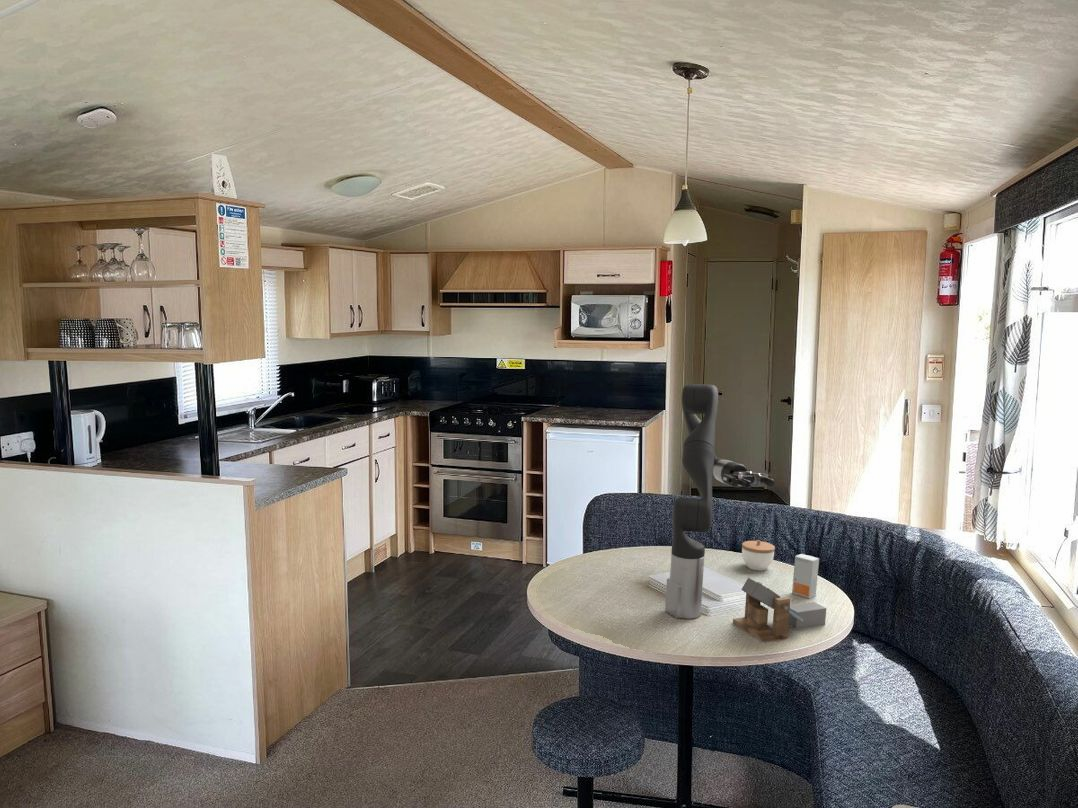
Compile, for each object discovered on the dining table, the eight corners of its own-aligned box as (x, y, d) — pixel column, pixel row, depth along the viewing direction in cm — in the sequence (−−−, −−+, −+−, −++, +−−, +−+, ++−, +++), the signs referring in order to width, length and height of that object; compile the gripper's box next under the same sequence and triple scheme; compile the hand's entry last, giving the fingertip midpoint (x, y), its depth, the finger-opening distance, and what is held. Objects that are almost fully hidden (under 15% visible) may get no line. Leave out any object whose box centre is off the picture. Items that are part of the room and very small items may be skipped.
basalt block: (797, 612, 223) (826, 608, 227) (785, 605, 227) (814, 601, 231) (795, 629, 223) (824, 625, 227) (784, 622, 228) (812, 618, 232)
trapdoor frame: (790, 640, 216) (793, 600, 214) (766, 643, 213) (769, 603, 211) (753, 618, 230) (756, 580, 229) (730, 621, 227) (732, 583, 226)
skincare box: (791, 593, 251) (794, 555, 250) (798, 590, 254) (801, 553, 253) (809, 599, 247) (813, 560, 245) (816, 595, 250) (819, 558, 248)
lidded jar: (774, 574, 269) (776, 546, 268) (741, 570, 271) (743, 543, 270) (772, 564, 279) (774, 537, 278) (739, 561, 281) (741, 534, 280)
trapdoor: (799, 627, 220) (807, 614, 220) (763, 601, 214) (770, 589, 214) (775, 613, 229) (782, 601, 230) (739, 588, 223) (746, 576, 224)
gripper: (712, 462, 258) (743, 473, 243) (749, 460, 264) (781, 470, 249) (710, 485, 259) (741, 497, 244) (747, 483, 265) (780, 494, 250)
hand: (761, 484), depth 247 cm, fingers open, 8 cm apart
